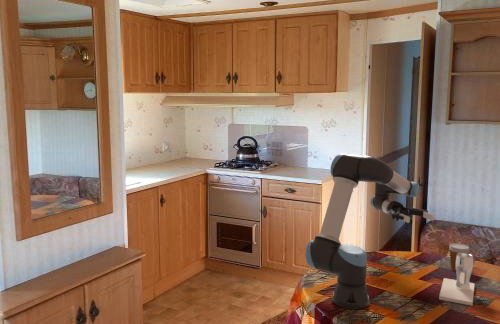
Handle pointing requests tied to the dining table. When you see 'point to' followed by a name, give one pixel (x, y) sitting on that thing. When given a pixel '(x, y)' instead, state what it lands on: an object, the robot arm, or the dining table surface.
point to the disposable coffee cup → (456, 249)
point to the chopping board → (456, 293)
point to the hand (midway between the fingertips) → (421, 218)
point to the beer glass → (463, 270)
